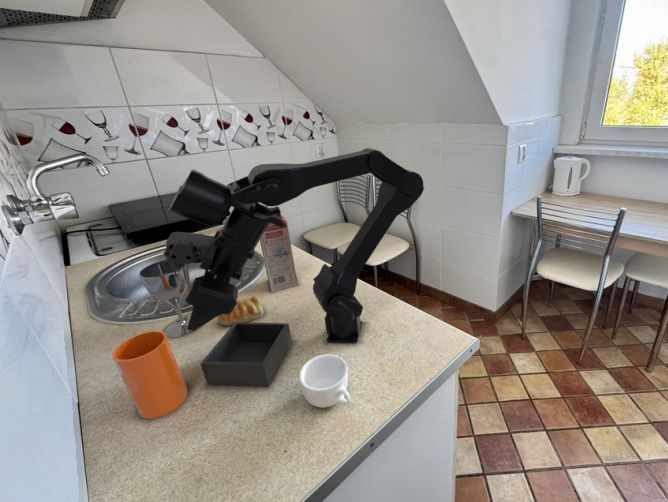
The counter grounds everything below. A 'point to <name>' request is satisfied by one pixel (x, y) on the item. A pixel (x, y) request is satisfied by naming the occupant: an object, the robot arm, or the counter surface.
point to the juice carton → (278, 256)
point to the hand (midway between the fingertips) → (196, 312)
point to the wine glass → (169, 290)
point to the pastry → (242, 312)
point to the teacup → (325, 380)
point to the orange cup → (150, 373)
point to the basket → (248, 355)
